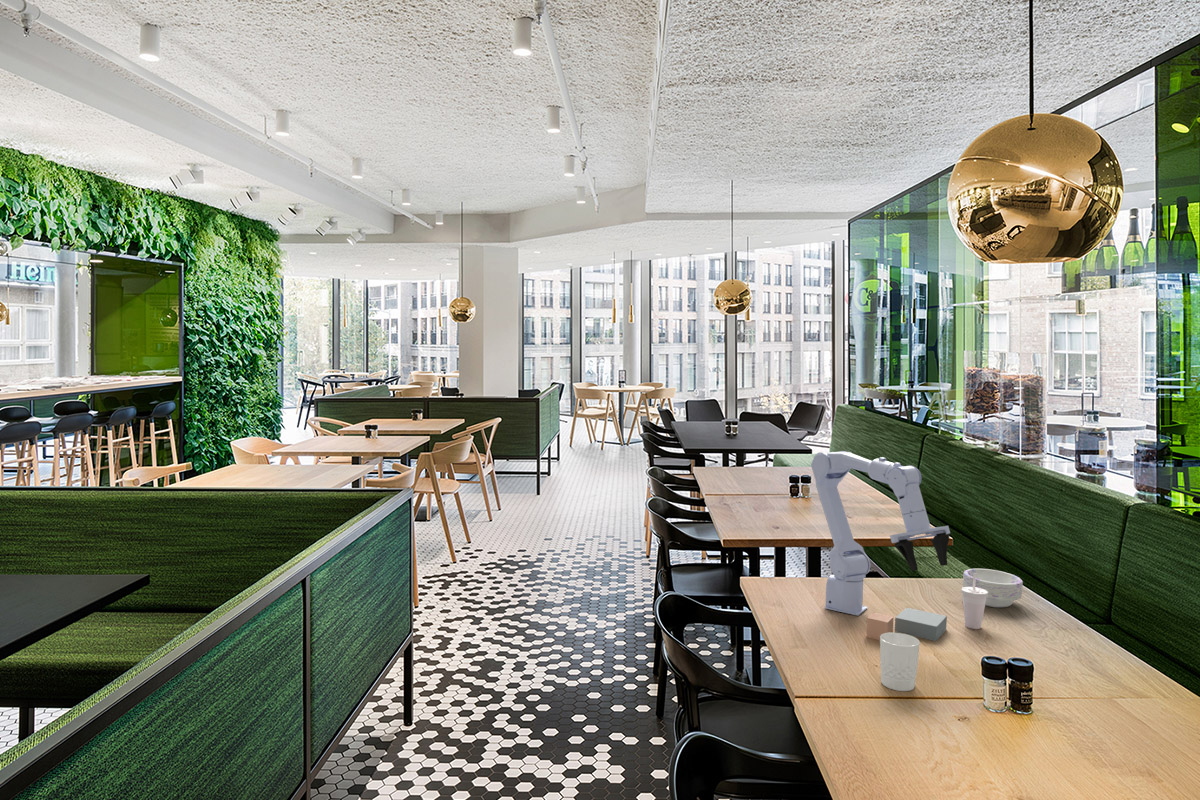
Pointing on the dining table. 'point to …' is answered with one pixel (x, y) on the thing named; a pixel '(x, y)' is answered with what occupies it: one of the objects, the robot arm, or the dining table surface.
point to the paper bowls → (995, 586)
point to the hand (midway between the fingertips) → (929, 567)
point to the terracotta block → (878, 625)
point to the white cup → (898, 660)
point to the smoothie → (974, 605)
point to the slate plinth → (920, 624)
